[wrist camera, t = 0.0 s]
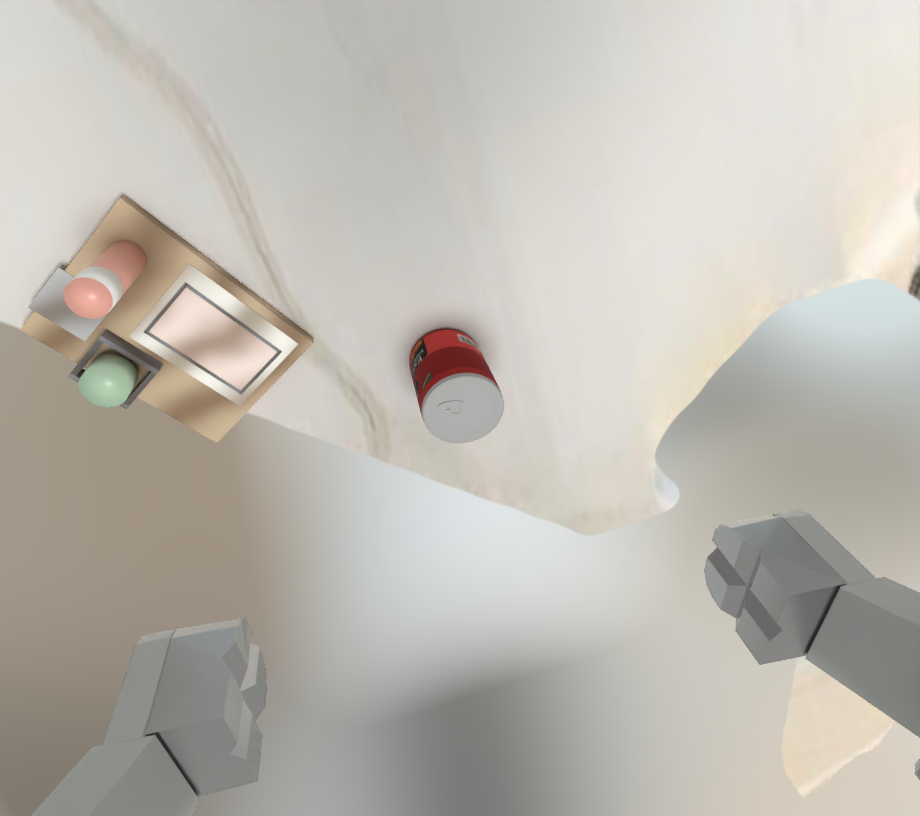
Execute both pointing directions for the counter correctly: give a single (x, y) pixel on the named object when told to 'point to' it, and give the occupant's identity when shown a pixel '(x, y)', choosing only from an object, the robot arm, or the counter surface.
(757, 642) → the robot arm
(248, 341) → the picture board
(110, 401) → the button
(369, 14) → the counter surface
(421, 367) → the canned food
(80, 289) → the marker
